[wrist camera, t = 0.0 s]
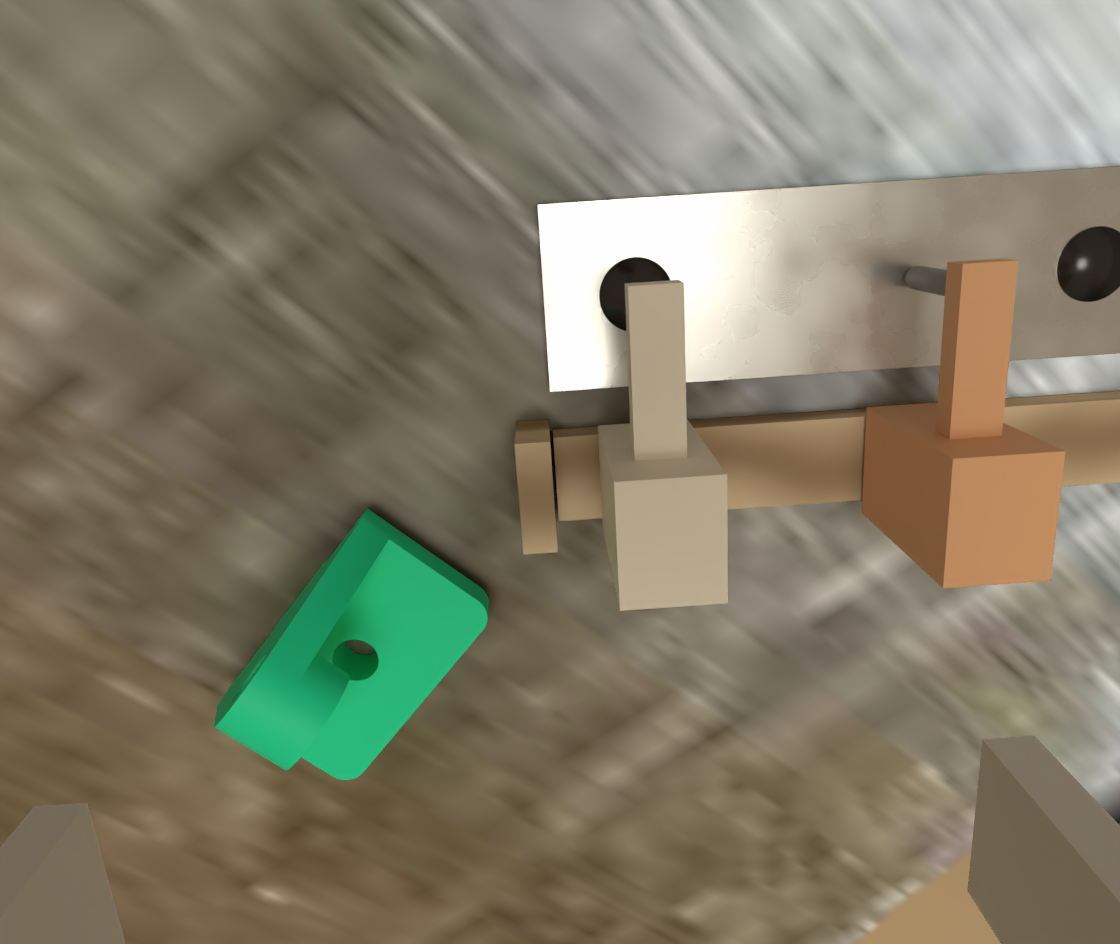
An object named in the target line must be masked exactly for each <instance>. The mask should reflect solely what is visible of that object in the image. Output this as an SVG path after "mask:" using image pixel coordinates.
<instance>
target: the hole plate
mask: <svg viewBox="0 0 1120 944" xmlns="http://www.w3.org/2000/svg"><path fill="white" fill-rule="evenodd" d="M537 206H538V220H539V235H540V250H541V265H542V280H543V294H544V309H545V324H546V339H547V354H548V368H549V383H550V392H553V391H568V390H583V389H597V388H612V387H627V386H629V383H628V357H627V332H626V307H625V283H639V282H654V281H669V280H680V281H682V282H684V313H685V365H686V382H701V381H716V380H731V379H745V378H760V377H775V376H790V375H805V374H819V373H834V372H849V371H864V370H879V369H893V368H908V367H923V366H938V365H940V359H941V344H942V330H943V316H944V302H945V296H942V295H937V294H933V293H928V292H923V291H918V290H914V289H911V288H909V287H908V286H907V284H906V281H905V277H906V274H907V272H908V271H909V270H910V269H911V268H912V267H914V266H924V267H931V268H938V269H945V270H947V262H954V261H969V260H984V259H999V258H1002V259H1011V260H1018V270H1017V281H1016V291H1015V302H1014V313H1013V323H1012V334H1011V344H1010V355H1009V361H1012V360H1026V359H1041V358H1056V357H1071V356H1086V355H1100V354H1115V353H1120V166H1117V167H1102V168H1086V169H1071V170H1056V171H1041V172H1026V173H1010V174H995V175H980V176H965V177H950V178H935V179H919V180H904V181H889V182H874V183H859V184H843V185H828V186H813V187H798V188H783V189H767V190H752V191H737V192H722V193H707V194H692V195H676V196H661V197H646V198H631V199H616V200H600V201H585V202H570V203H555V204H540V205H537Z"/></svg>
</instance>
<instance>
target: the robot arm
mask: <svg viewBox="0 0 1120 944" xmlns="http://www.w3.org/2000/svg"><path fill="white" fill-rule="evenodd" d="M968 892H969V894H970V895H971V897H972V898H973V900H974V902H975V903H976V905H977V906H978V908H979V910H980V911H981V913H982V914H983V915H984V917H985V919H986V921H987V922H988V924H989V925H990V927H991V929H992V930H993V932H994V933H995V935H996V936H997V938H998V940H999V941H1000V943H1001V944H1120V826H1119V825H1118V823H1117V822H1116V821H1115V820H1114V819H1113V818H1112V817H1111V816H1110V815H1109V814H1108V813H1107V812H1106V811H1105V810H1104V809H1103V808H1102V807H1101V806H1100V804H1099V803H1098V802H1097V801H1096V800H1095V799H1094V798H1093V797H1092V796H1091V795H1090V794H1089V793H1088V792H1087V791H1086V790H1085V789H1084V788H1083V787H1082V785H1081V784H1080V783H1079V782H1078V781H1077V780H1076V779H1075V778H1074V777H1073V776H1072V775H1071V774H1070V773H1069V772H1068V771H1067V770H1066V769H1065V768H1064V767H1063V765H1062V764H1061V763H1060V762H1059V761H1058V760H1057V759H1056V758H1055V757H1054V756H1053V755H1052V754H1051V753H1050V752H1049V751H1048V750H1047V749H1046V748H1045V746H1044V745H1043V744H1042V743H1041V742H1040V741H1039V740H1038V739H1037V738H1036V737H1035V736H1021V737H1007V738H993V739H982V749H981V759H980V769H979V779H978V789H977V800H976V810H975V820H974V830H973V840H972V850H971V861H970V871H969V881H968ZM0 944H125V940H124V937H123V933H122V929H121V926H120V922H119V918H118V915H117V911H116V907H115V904H114V900H113V896H112V893H111V889H110V885H109V882H108V878H107V874H106V871H105V867H104V863H103V860H102V856H101V852H100V848H99V845H98V841H97V837H96V834H95V830H94V826H93V823H92V819H91V815H90V812H89V808H88V804H87V803H79V804H65V805H51V806H37V807H34V808H33V809H32V810H31V811H30V813H29V814H28V815H27V816H26V817H25V819H24V820H23V821H22V822H21V823H20V824H19V826H18V827H17V828H16V829H15V830H14V832H13V833H12V834H11V835H10V836H9V838H8V839H7V840H6V841H5V842H4V844H3V845H2V846H1V847H0Z"/></svg>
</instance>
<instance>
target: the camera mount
mask: <svg viewBox="0 0 1120 944" xmlns="http://www.w3.org/2000/svg"><path fill="white" fill-rule="evenodd" d="M488 610H489V599H488V596H487V594H486V592H485V591H484V590H483V589H482V588H481V587H479V586H478V585H477V584H475V583H474V582H472V581H471V580H469V579H468V578H467V577H465V576H464V575H462V574H461V573H459V572H458V571H457V570H455V569H454V568H452V567H451V566H449V565H448V564H446V563H445V562H444V561H442V560H441V559H439V558H438V557H436V556H435V555H434V554H432V553H431V552H429V551H428V550H426V549H425V548H424V547H422V546H421V545H419V544H418V543H416V542H415V541H413V540H412V539H411V538H409V537H408V536H406V535H405V534H403V533H402V532H401V531H399V530H398V529H396V528H395V527H393V526H392V525H391V524H389V523H388V522H386V521H385V520H383V519H382V518H381V517H379V516H378V515H376V514H375V513H373V512H372V511H370V510H369V509H368V508H367V509H366V510H365V512H364V513H363V514H362V516H361V517H360V518H359V520H358V521H357V522H356V523H355V525H354V526H353V527H352V529H351V530H350V531H349V533H348V534H347V535H346V536H345V538H344V539H343V540H342V542H341V543H340V544H339V546H338V547H337V548H336V549H335V551H334V552H333V553H332V555H331V556H330V557H329V559H326V561H325V562H324V563H323V565H322V566H321V567H320V569H319V570H318V571H317V572H316V574H315V575H314V576H313V578H312V579H311V580H310V582H309V583H308V584H307V585H306V587H305V588H304V589H303V591H302V592H301V593H300V595H299V596H298V597H297V598H296V600H295V601H294V602H293V604H292V605H291V606H290V608H289V609H288V610H287V611H286V613H285V614H284V615H283V617H282V618H281V619H280V621H279V622H278V623H277V624H276V626H275V627H274V629H273V630H272V632H271V633H270V635H269V637H268V638H267V639H266V640H265V642H264V643H263V644H262V646H261V647H260V648H259V650H258V651H257V652H256V653H255V655H254V656H253V657H252V659H251V660H250V661H249V663H248V664H247V665H246V666H245V668H244V669H243V670H242V672H241V673H240V674H239V676H238V677H237V678H236V679H235V681H234V682H233V683H232V685H231V686H230V687H229V689H228V690H227V692H226V693H225V695H224V696H223V698H222V700H221V701H220V703H219V704H218V706H217V712H216V718H215V724H214V727H215V728H216V729H218V730H220V731H221V732H223V733H225V734H226V735H228V736H230V737H231V738H233V739H235V740H236V741H238V742H240V743H241V744H243V745H245V746H246V747H248V748H249V749H251V750H253V751H254V752H256V753H258V754H259V755H261V756H263V757H264V758H266V759H268V760H269V761H271V762H273V763H274V764H276V765H278V766H279V767H281V768H282V769H284V770H288V769H290V768H291V767H292V766H293V765H294V764H295V763H296V762H297V761H298V760H299V759H300V757H302V758H304V759H305V760H307V761H309V762H310V763H312V764H313V765H315V766H317V767H318V768H320V769H322V770H323V771H325V772H327V773H328V774H330V775H331V776H333V777H335V778H338V779H342V780H350V779H354V778H356V777H358V776H360V775H361V774H362V773H363V772H364V771H365V770H366V768H367V767H368V766H369V765H370V764H371V763H372V761H373V760H374V759H375V758H376V757H377V755H378V754H379V753H380V752H381V751H382V749H383V748H384V747H385V746H386V745H387V744H388V742H389V741H390V740H391V739H392V738H393V736H394V735H395V734H396V733H397V732H398V730H399V729H400V728H401V727H402V726H403V725H404V723H405V722H406V721H407V720H408V719H409V717H410V716H411V715H412V714H413V713H414V712H415V710H416V709H417V708H418V707H419V706H420V704H421V703H422V702H423V701H424V700H425V698H426V697H427V696H428V695H429V694H430V693H431V691H432V690H433V689H434V688H435V687H436V685H437V684H438V683H439V682H440V681H441V679H442V678H443V677H444V676H445V675H446V674H447V672H448V671H449V670H450V669H451V668H452V666H453V665H454V664H455V663H456V662H457V661H458V659H459V658H460V657H461V656H462V655H463V653H464V652H465V651H466V650H467V649H468V647H469V646H470V645H471V644H472V643H473V642H474V640H475V639H476V638H477V637H478V636H479V634H480V633H481V632H482V631H483V630H484V628H485V626H486V624H487V618H488ZM348 640H361V641H364V642H366V643H368V644H369V645H371V646H372V647H373V648H374V649H375V651H376V652H377V653H375V654H372V655H361V654H358V653H355V652H354V651H352V650H351V649H350V648H349V647H348V646H347V645H346V643H345V641H348Z"/></svg>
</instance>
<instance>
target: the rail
mask: <svg viewBox="0 0 1120 944" xmlns="http://www.w3.org/2000/svg"><path fill="white" fill-rule="evenodd" d="M866 409H867V408H861V409H846V410H831V411H816V412H802V413H787V414H772V415H758V416H743V417H728V418H713V419H699V420H688V421H689V422H690V424H691V425H692V426H693V428H694V429H695V431H696V432H697V433H698V435H699V436H700V437H701V439H702V440H703V442H704V443H705V444H706V446H707V447H708V449H709V450H710V451H711V453H712V454H713V455H714V457H715V458H716V460H717V461H718V462H719V464H720V465H721V466H722V468H723V469H724V471H725V472H726V473H727V510H728V509H742V508H757V507H771V506H786V505H800V504H815V503H829V502H844V501H858V500H862V497H863V475H864V453H865V431H866ZM1003 423H1005V424H1007V425H1009V426H1011V427H1014V428H1016V429H1018V430H1020V431H1022V432H1025V433H1027V434H1029V435H1031V436H1033V437H1036V438H1038V439H1040V440H1042V441H1044V442H1047V443H1049V444H1051V445H1053V446H1055V447H1057V448H1060V449H1062V450H1064V451H1066V452H1065V460H1064V469H1063V477H1062V486H1076V485H1091V484H1105V483H1120V391H1111V392H1096V393H1081V394H1067V395H1052V396H1037V397H1023V398H1008V399H1005V408H1004V418H1003ZM553 442H554V457H555V472H556V487H557V502H558V516H559V521H568V520H582V519H597V518H602V501H601V482H600V462H599V443H598V426H596V427H581V428H566V429H553ZM514 446H515V458H516V470H517V482H518V494H519V507H520V519H521V531H522V543H523V554H538V553H552V552H558V549H557V534H556V518H555V504H554V489H553V475H552V460H551V446H550V431H549V419H545V420H530V421H516V432H515V443H514ZM1062 486H1061V487H1062Z"/></svg>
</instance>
